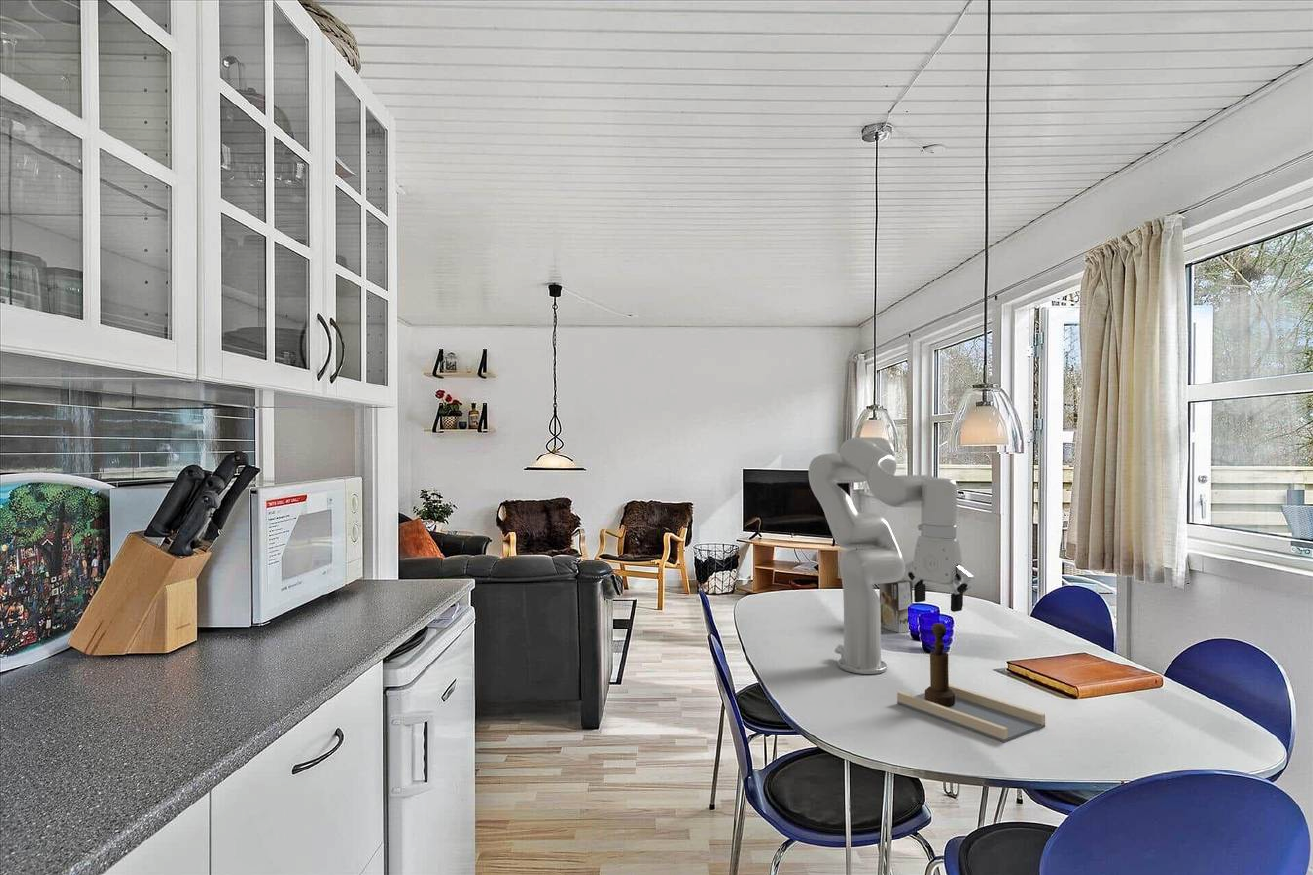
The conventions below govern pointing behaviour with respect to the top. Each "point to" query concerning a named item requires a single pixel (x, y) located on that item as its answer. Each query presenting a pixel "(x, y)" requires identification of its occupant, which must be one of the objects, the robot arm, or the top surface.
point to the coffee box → (895, 605)
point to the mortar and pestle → (939, 672)
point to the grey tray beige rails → (979, 714)
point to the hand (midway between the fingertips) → (937, 606)
